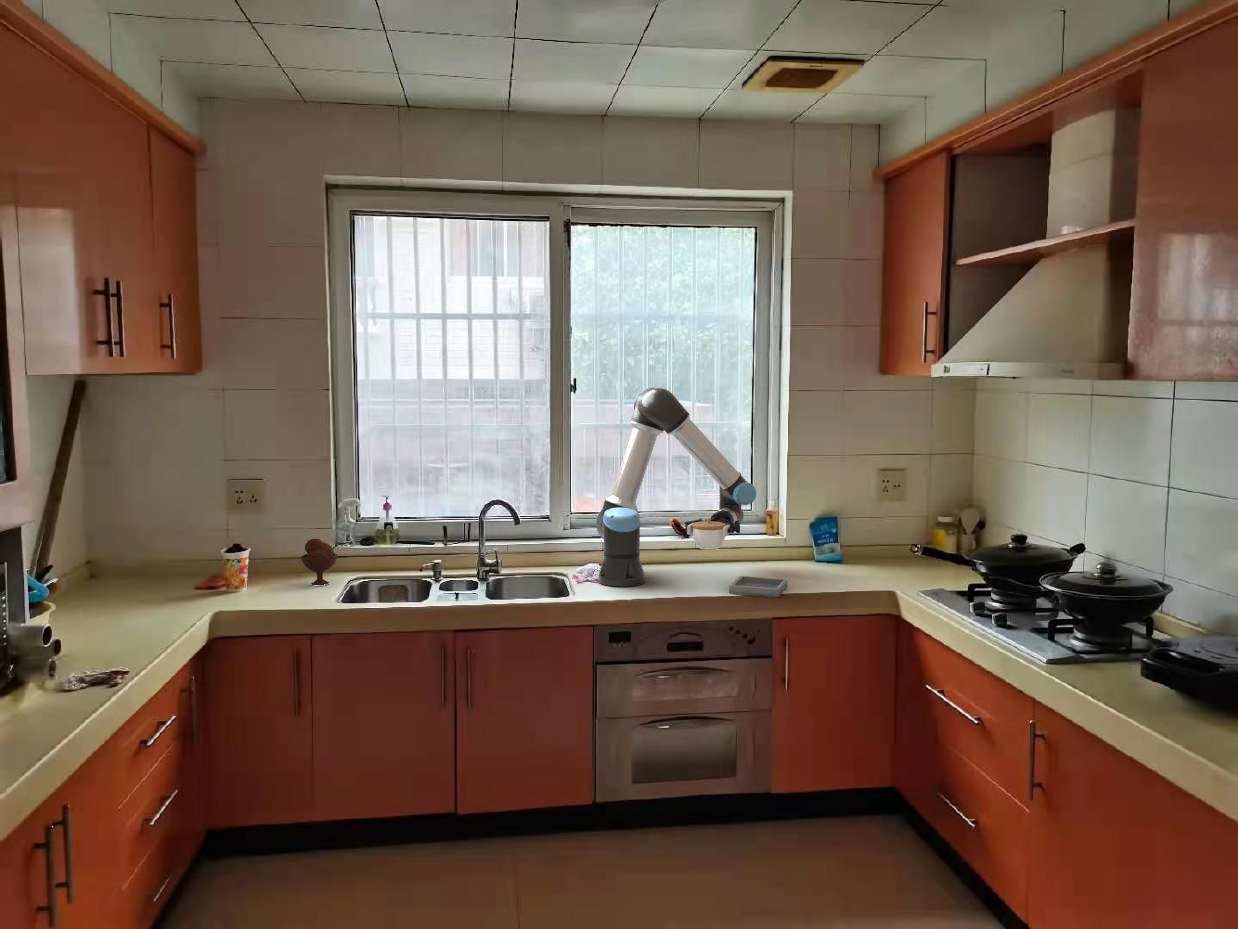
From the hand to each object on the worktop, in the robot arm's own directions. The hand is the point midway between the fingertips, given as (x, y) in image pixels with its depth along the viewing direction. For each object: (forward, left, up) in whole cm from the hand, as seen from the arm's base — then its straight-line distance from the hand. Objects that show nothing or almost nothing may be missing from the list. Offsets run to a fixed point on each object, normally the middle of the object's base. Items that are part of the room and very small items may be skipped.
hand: (705, 531), depth 277 cm
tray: (+16, +4, -18) cm, 24 cm away
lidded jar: (0, +4, -6) cm, 8 cm away
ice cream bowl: (-117, -38, -18) cm, 124 cm away
